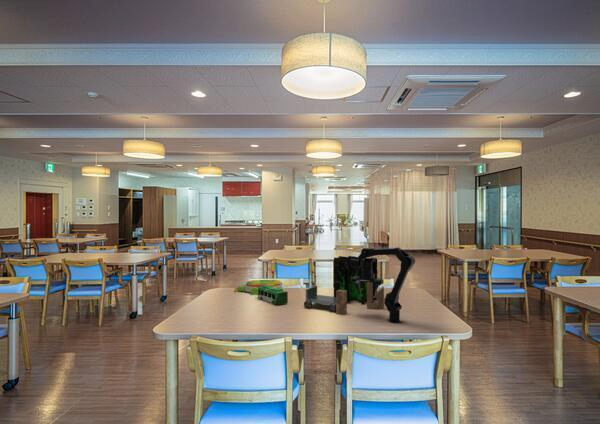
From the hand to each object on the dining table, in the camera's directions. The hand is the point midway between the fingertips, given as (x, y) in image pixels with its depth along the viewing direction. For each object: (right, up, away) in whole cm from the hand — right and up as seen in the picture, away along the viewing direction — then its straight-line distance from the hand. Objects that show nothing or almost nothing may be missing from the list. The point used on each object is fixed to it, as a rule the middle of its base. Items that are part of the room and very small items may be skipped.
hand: (367, 294), depth 216 cm
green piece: (-71, -14, +72) cm, 102 cm away
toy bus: (-60, -14, +37) cm, 72 cm away
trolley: (-24, -13, +20) cm, 34 cm away
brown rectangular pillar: (-15, -13, +7) cm, 21 cm away
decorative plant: (-1, -14, +43) cm, 45 cm away
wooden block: (+9, -14, +19) cm, 25 cm away
